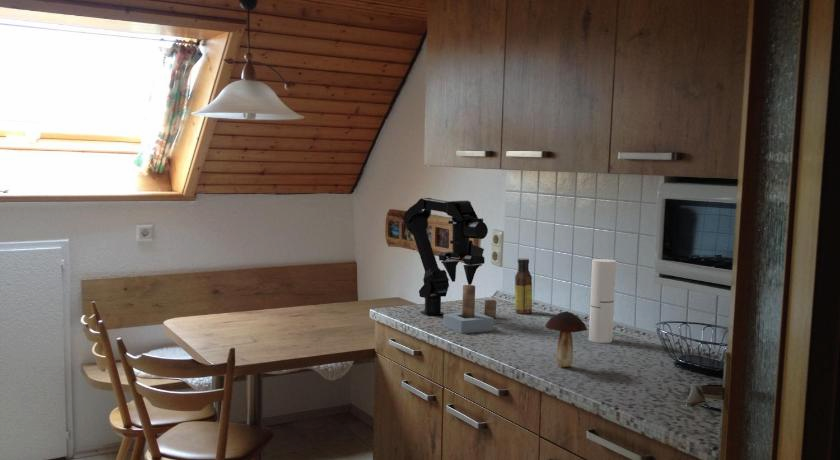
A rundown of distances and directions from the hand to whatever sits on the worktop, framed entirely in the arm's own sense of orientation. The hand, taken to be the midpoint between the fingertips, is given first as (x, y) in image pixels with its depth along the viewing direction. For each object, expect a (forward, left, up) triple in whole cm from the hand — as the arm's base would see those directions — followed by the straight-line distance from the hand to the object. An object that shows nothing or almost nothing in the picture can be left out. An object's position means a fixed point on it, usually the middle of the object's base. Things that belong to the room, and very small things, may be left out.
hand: (461, 283), depth 259 cm
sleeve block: (+11, -3, -13) cm, 17 cm away
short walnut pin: (-1, +13, -13) cm, 18 cm away
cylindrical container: (+41, +27, -13) cm, 50 cm away
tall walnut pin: (+11, -3, -13) cm, 17 cm away
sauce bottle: (-4, +29, -13) cm, 32 cm away
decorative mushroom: (+62, -3, -13) cm, 63 cm away
